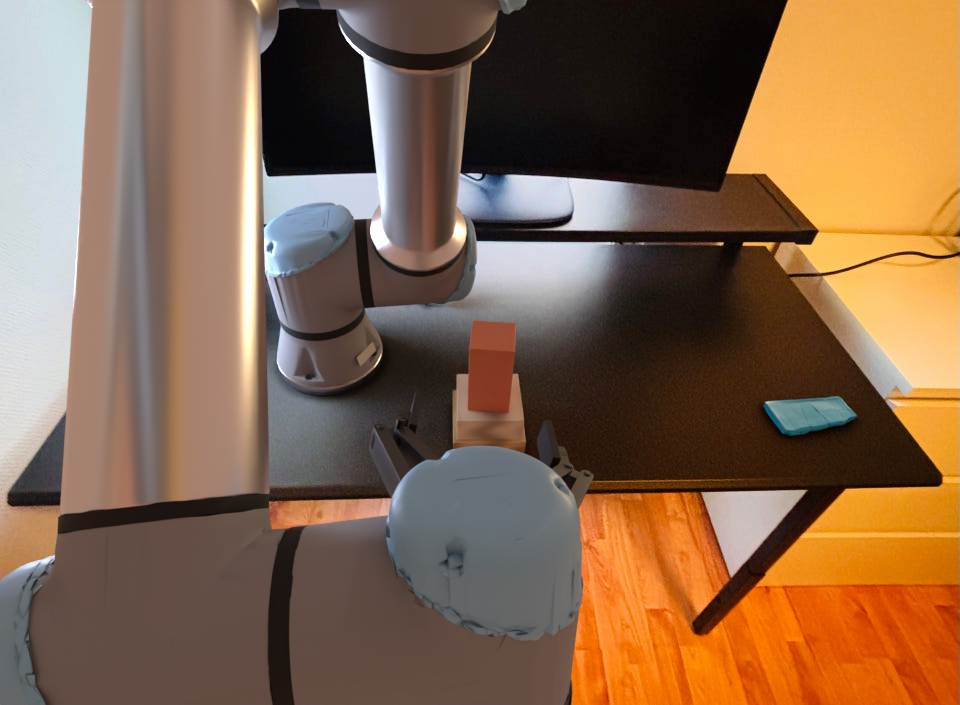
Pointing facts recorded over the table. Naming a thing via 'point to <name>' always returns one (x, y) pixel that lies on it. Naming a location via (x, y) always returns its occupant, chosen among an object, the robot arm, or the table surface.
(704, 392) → the table surface
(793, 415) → the sponge
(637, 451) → the table surface
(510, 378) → the pillar block
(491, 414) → the slab stack
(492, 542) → the robot arm
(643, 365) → the table surface
